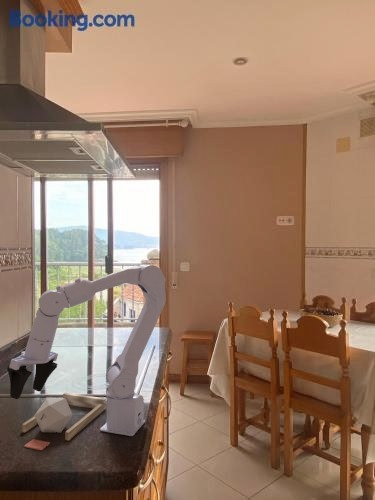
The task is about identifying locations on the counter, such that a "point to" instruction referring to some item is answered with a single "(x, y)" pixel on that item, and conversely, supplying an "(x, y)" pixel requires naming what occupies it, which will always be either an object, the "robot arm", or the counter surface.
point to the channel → (76, 400)
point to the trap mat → (37, 444)
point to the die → (53, 415)
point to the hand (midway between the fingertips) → (26, 393)
